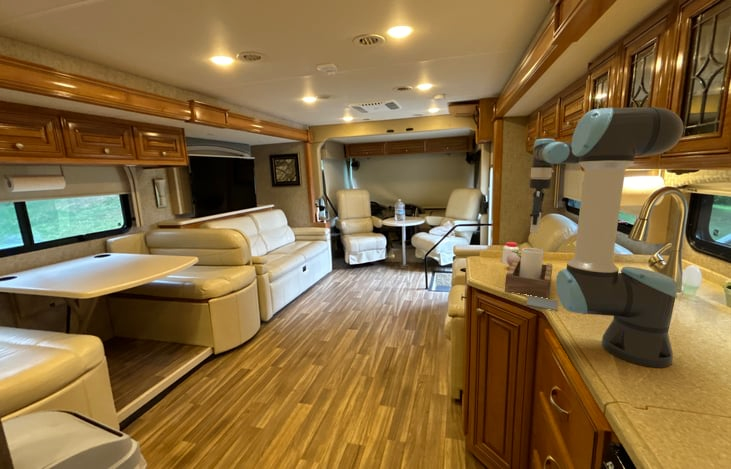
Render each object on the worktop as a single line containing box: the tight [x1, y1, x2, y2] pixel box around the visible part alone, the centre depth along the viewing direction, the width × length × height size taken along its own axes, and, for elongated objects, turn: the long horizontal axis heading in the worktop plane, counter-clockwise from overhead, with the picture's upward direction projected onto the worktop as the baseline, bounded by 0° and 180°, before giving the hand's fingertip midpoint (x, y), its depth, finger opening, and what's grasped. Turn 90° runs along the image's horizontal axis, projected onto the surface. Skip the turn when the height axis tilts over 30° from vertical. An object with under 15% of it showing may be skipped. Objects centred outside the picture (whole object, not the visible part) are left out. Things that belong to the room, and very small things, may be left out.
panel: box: [525, 295, 559, 312], centre depth 124 cm, size 10×10×1 cm
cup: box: [518, 247, 544, 280], centre depth 141 cm, size 8×8×16 cm
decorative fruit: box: [507, 250, 522, 267], centre depth 164 cm, size 9×8×10 cm
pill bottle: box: [501, 241, 520, 265], centre depth 176 cm, size 8×8×11 cm
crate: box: [504, 259, 553, 299], centre depth 142 cm, size 26×16×8 cm, turn 150°
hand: (534, 230), depth 138 cm, fingers open, 13 cm apart
